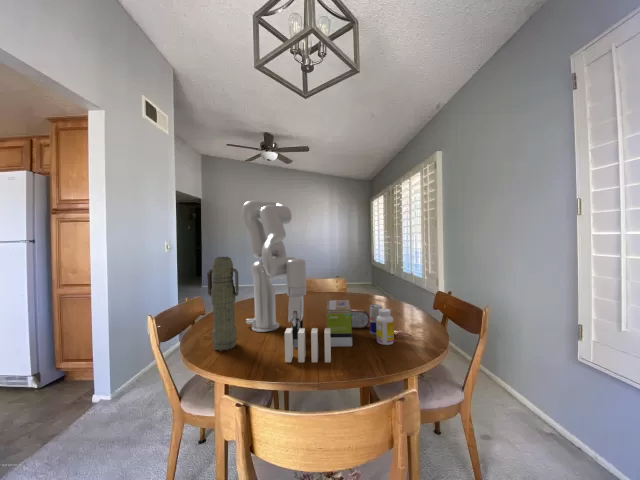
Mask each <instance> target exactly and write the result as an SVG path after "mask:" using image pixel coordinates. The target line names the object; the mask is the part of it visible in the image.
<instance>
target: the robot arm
mask: <svg viewBox="0 0 640 480" xmlns="http://www.w3.org/2000/svg"><path fill="white" fill-rule="evenodd" d="M241 215H242V220H243V223H244V225H245V228H246V230H247V234H248V240H249V245H250V249H251V250H250V251H251V254H252V256H253V257H254V258H256V259H261V260H257V261H255V262H254V263H253V264H252V265H251V275H252V276H251V277H252V281H253V293H254V294H253V295H254V298H253V300H254V317H253V318H246V319H245V324H247V325H251V330H252V331H253V332H258V333H259V332H260V333H266V332H273V331H276V330H277V329H279V328H280V323H279V322H276V321H277V319H276V317H277V316H276V315H277V314H276V289H275V286H274V285H273V283H272V282H271V281H272V280H279V279H280V280H281V279H285V278H286V295H287V296H288V319H287V320H288V323H290V322H291V327H290V328H292V333H293V340H294V339H298V331H299V322H300V328H304V325H303V321H304V320H303V317H304V297H305V296H306V295H307V284H306V283H307V279H306V278H307V272H306V271H307V269H306V268H307V267H306V260H305V259H303V258H297V257H294V256H287V253H286V247H285V243H284V242H283V240H284V239H285V238H286V236H287V232H286V229H285V227H284V225H287V224H289V223H290V222H291V221H292V216H293V215H292V211H291V209H290V208H289V207H288V206H287V205H285V204H282V203H281V202H278V201H272V200H270V201H268V200H254V199H252V200H248V201H246V202H244V204H243V205H242V210H241ZM259 219H260V220H259ZM297 323H298V325H297Z"/></svg>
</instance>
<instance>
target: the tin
mask: <svg viewBox="0 0 640 480" xmlns="http://www.w3.org/2000/svg"><path fill="white" fill-rule="evenodd" d="M351 313H352V329H364V328H366V327H368V326H369V325H370V314H369V312H368V311H367V310H365V309H363V308H351Z"/></svg>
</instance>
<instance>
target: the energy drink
mask: <svg viewBox="0 0 640 480" xmlns="http://www.w3.org/2000/svg"><path fill="white" fill-rule="evenodd" d="M368 309H369V312H368V314H369V316H370V322H369V334H370V335H372V336H377V333H376V318H377V316H379V309H383V306H382V305H380V304H373V303H372V304H370V305H369V307H368Z"/></svg>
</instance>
